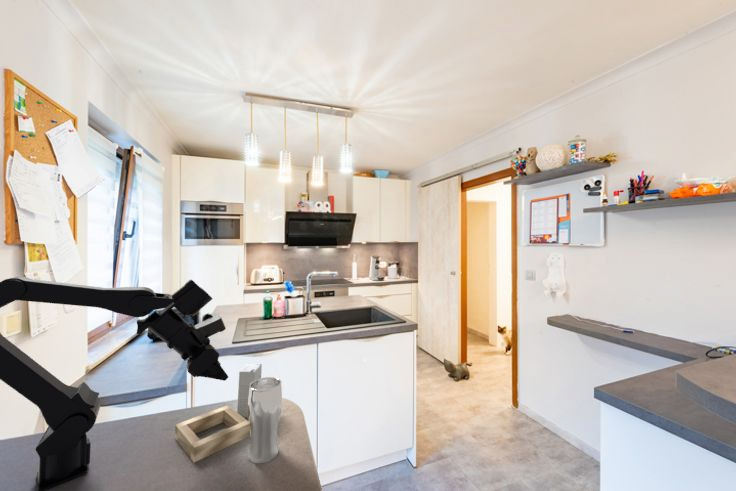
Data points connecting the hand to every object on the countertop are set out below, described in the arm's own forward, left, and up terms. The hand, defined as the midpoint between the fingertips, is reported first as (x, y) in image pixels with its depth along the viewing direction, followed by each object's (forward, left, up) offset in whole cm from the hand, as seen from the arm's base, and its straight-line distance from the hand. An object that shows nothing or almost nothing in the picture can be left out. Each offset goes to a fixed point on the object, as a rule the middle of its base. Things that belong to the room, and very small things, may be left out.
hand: (222, 372), depth 74 cm
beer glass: (+2, -17, -14) cm, 22 cm away
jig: (-3, -3, -13) cm, 14 cm away
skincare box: (+8, +1, -14) cm, 16 cm away
